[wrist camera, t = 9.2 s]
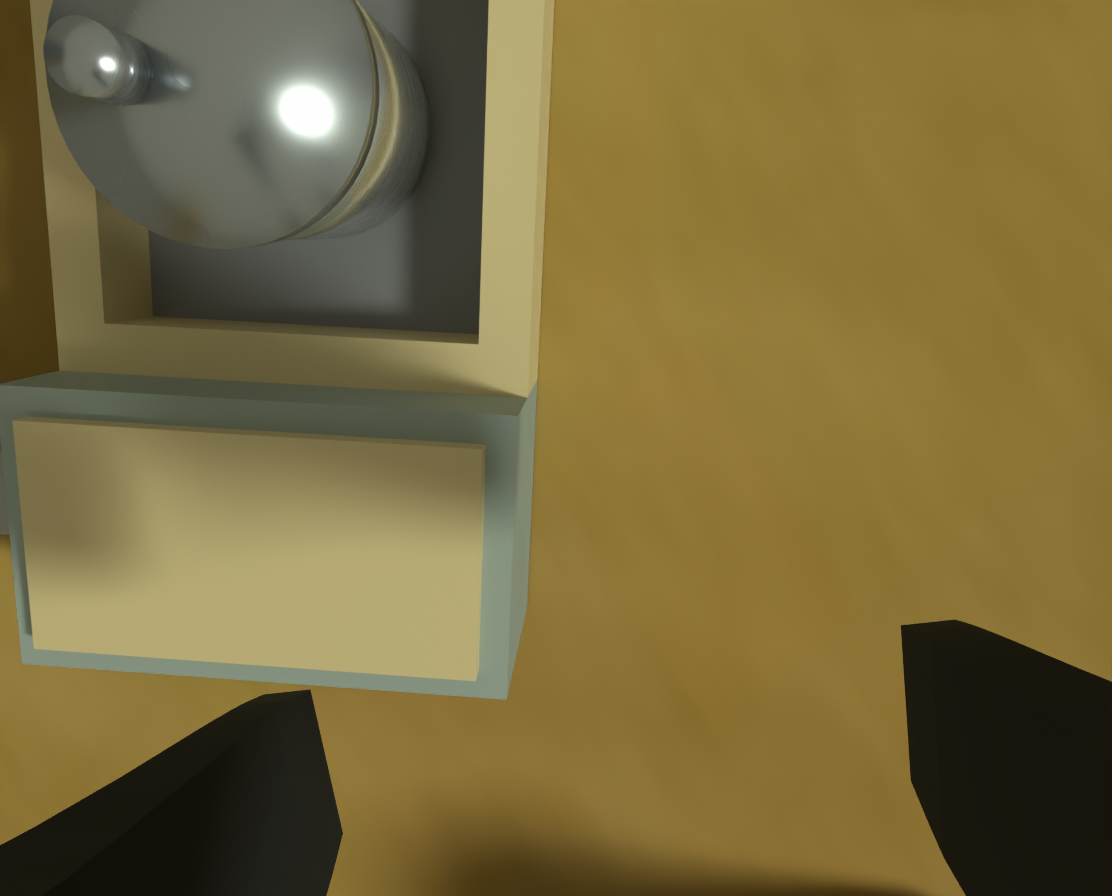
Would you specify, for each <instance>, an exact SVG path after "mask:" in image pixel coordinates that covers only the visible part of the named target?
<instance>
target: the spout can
mask: <svg viewBox="0 0 1112 896" xmlns="http://www.w3.org/2000/svg"><path fill="white" fill-rule="evenodd" d="M43 55H44V61H45V69H46V80H47V87H48V92H49V96H50V101H51V106H52V109H53V112H54V115H55V118H56V121H57V124H58V127H59V130H60V132H61V134H62V136H63V138H64V141H65V143H66V145H67V147H68V149H69V151H70V152H71V154H72V156H73V157H74V159H75V161H76V162H77V164H78V166H79V167H80V169H81V170H82V172H83V173H84V174H85V175H86V177H87V178H88V179H89V181H90V182H91V183H92V184H93V186H94V187H95V188H96V189H97V190H98V191H99V192H100V193H101V194H102V195H103V196H104V197H105V198H106V199H107V200H108V201H109V202H110V203H111V204H112V205H113V206H114V207H116V208H117V209H118V210H119V211H121V212H122V213H123V214H124V215H126V216H127V217H128V218H130V219H131V220H133V221H135V222H136V223H138V224H139V225H141V226H143V227H144V228H146V229H148V230H150V231H152V232H154V233H156V234H159V235H161V236H163V237H165V238H168V239H171V240H174V241H177V242H180V243H183V244H188V245H193V246H198V247H204V248H218V249H233V248H247V247H258V246H263V245H267V244H271V243H276V242H279V241H281V240H307V239H333V238H345V237H349V236H354V235H358V234H361V233H363V232H366V231H369V230H371V229H373V228H375V227H377V226H378V225H380V224H382V223H384V222H385V221H386V220H388V219H389V218H390V217H392V216H393V215H394V214H395V213H396V212H397V211H398V210H399V209H400V208H401V207H403V206H404V205H405V203H406V202H407V201H408V199H409V198H410V197H411V195H412V194H413V193H414V191H415V189H416V188H417V186H418V184H419V182H420V181H421V178H422V176H423V173H424V171H425V168H426V166H427V162H428V158H429V154H430V149H431V142H432V115H431V106H430V102H429V97H428V93H427V90H426V87H425V84H424V82H423V79H422V76H421V74H420V72H419V70H418V68H417V66H416V64H415V62H414V61H413V59H412V58H411V56H410V55H409V53H408V52H407V51H406V49H405V48H404V47H403V46H402V44H401V43H400V42H399V41H398V40H397V39H396V38H395V37H394V36H393V35H392V34H391V33H390V32H389V31H388V30H387V29H386V28H385V27H384V26H383V25H382V24H381V23H380V22H379V21H378V20H377V19H376V18H375V17H374V16H373V15H372V14H371V13H370V12H369V11H368V10H367V9H366V8H365V7H364V6H363V5H362V4H361V3H360V2H359V1H358V0H53V3H52V6H51V10H50V13H49V18H48V24H47V31H46V37H45V40H44V45H43Z"/></svg>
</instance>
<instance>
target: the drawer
mask: <svg viewBox="0 0 1112 896" xmlns="http://www.w3.org/2000/svg"><path fill="white" fill-rule="evenodd" d="M358 1H359V2H360V3H361V4H362V5H363V6H364V7H365V8H366V9H367V10H368V11H369V12H370V13H371V14H372V15H373V16H374V17H375V18H376V19H377V20H378V21H379V22H380V23H381V24H382V25H383V26H384V27H385V28H386V29H387V30H388V31H389V32H390V33H391V34H392V35H393V36H394V37H395V38H396V39H397V40H398V41H399V42H400V43H401V44H402V46H403V47H404V48H405V49H406V51H407V52H408V53H409V55H410V56H411V58H412V59H413V61H414V62H415V64H416V66H417V68H418V70H419V72H420V74H421V76H422V79H423V82H424V84H425V87H426V90H427V93H428V97H429V102H430V106H431V115H432V142H431V149H430V154H429V158H428V162H427V166H426V168H425V171H424V173H423V176H422V178H421V181H420V182H419V184H418V186H417V188H416V189H415V191H414V193H413V194H412V195H411V197H410V198H409V199H408V201H407V202H406V203H405V205H404V206H403V207H401V208H400V209H399V210H398V211H397V212H396V213H395V214H394V215H393V216H392V217H390V218H389V219H388V220H386V221H385V222H384V223H382V224H380V225H378V226H377V227H375V228H373V229H371V230H369V231H366V232H363V233H361V234H358V235H354V236H349V237H345V238H333V239H307V240H281V241H279V242H276V243H271V244H267V245H263V246H258V247H247V248H233V249H218V248H204V247H198V246H193V245H188V244H183V243H180V242H177V241H174V240H171V239H168V238H165V237H163V236H161V235H159V234H156V233H154V232H152V231H150V230H148V229H146V228H144V227H143V226H141V225H139V224H138V223H136V222H135V221H133V220H131V219H130V218H128V217H127V216H126V215H124V214H123V213H122V212H121V211H119V210H118V209H117V208H116V207H114V206H113V205H112V204H111V203H110V202H109V201H108V200H107V199H106V198H105V197H104V196H103V195H102V194H101V193H100V192H99V191H98V190H97V189H96V188H95V187H94V186H93V184H92V183H91V182H90V181H89V179H88V178H87V177H86V175H85V174H84V173H83V172H82V170H81V169H80V167H79V166H78V164H77V162H76V161H75V159H74V157H73V156H72V154H71V152H70V151H69V149H68V147H67V145H66V143H65V141H64V138H63V136H62V134H61V132H60V130H59V127H58V124H57V121H56V118H55V115H54V112H53V109H52V106H51V101H50V96H49V92H48V87H47V80H46V69H45V61H44V55H43V45H44V40H45V37H46V31H47V24H48V18H49V13H50V10H51V6H52V3H53V0H30V10H31V22H32V35H33V47H34V60H35V72H36V85H37V97H38V110H39V122H40V134H41V147H42V159H43V172H44V184H45V197H46V209H47V222H48V234H49V246H50V259H51V271H52V284H53V296H54V309H55V321H56V333H57V346H58V358H59V371H55V372H50V373H46V374H41V375H37V376H32V377H28V378H23V379H19V380H14V381H10V382H5V383H0V443H1V450H0V535H10V545H11V555H12V565H13V576H14V586H15V596H16V606H17V617H18V627H19V637H20V647H21V657H22V664H33V665H46V666H60V667H73V668H87V669H100V670H114V671H127V672H141V673H154V674H168V675H181V676H195V677H208V678H222V679H235V680H249V681H262V682H276V683H289V684H303V685H316V686H330V687H343V688H357V689H370V690H384V691H397V692H411V693H424V694H438V695H451V696H465V697H478V698H491V699H505V700H507V695H508V691H509V686H510V682H511V677H512V673H513V668H514V664H515V659H516V655H517V650H518V646H519V641H520V637H521V632H522V628H523V623H524V619H525V614H526V610H527V598H528V576H529V553H530V531H531V509H532V487H533V465H534V443H535V420H536V398H537V376H538V354H539V332H540V309H541V287H542V265H543V243H544V221H545V198H546V176H547V154H548V132H549V110H550V87H551V65H552V43H553V21H554V0H358Z"/></svg>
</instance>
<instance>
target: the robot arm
mask: <svg viewBox="0 0 1112 896" xmlns="http://www.w3.org/2000/svg"><path fill="white" fill-rule="evenodd" d="M901 635H902V650H903V666H904V681H905V696H906V712H907V727H908V743H909V758H910V773H911V782H912V784H913V787H914V789H915V791H916V794H917V796H918V799H919V801H920V804H921V806H922V808H923V811H924V813H925V816H926V818H927V820H928V823H929V825H930V827H931V830H932V832H933V834H934V836H935V839H936V841H937V843H938V845H939V848H940V850H941V852H942V854H943V857H944V859H945V860H946V862H947V864H948V866H949V867H950V869H951V871H952V873H953V874H954V876H955V878H956V880H957V881H958V883H959V885H960V886H961V888H962V890H963V891H964V893H965V895H966V896H1112V682H1111V681H1108V680H1106V679H1104V678H1101V677H1099V676H1096V675H1094V674H1091V673H1089V672H1086V671H1084V670H1081V669H1079V668H1077V667H1074V666H1072V665H1069V664H1067V663H1064V662H1062V661H1060V660H1057V659H1055V658H1053V657H1050V656H1048V655H1045V654H1043V653H1041V652H1038V651H1036V650H1034V649H1031V648H1029V647H1026V646H1024V645H1022V644H1019V643H1017V642H1015V641H1012V640H1010V639H1007V638H1005V637H1003V636H1000V635H998V634H995V633H993V632H990V631H987V630H985V629H982V628H980V627H977V626H974V625H971V624H968V623H965V622H961V621H958V620H947V621H938V622H929V623H920V624H910V625H901ZM342 835H343V832H342V828H341V823H340V819H339V814H338V810H337V806H336V801H335V797H334V792H333V788H332V783H331V779H330V775H329V770H328V766H327V761H326V757H325V753H324V748H323V744H322V739H321V735H320V730H319V726H318V722H317V717H316V713H315V708H314V704H313V699H312V695H311V691H310V690H302V691H293V692H283V693H274V694H265V695H262V696H259V697H257V698H255V699H252V700H250V701H248V702H246V703H244V704H242V705H240V706H238V707H236V708H234V709H233V710H231V711H229V712H227V713H225V714H224V715H222V716H220V717H218V718H217V719H215V720H213V721H212V722H210V723H208V724H207V725H205V726H203V727H202V728H200V729H198V730H197V731H195V732H194V733H192V734H190V735H189V736H187V737H185V738H184V739H182V740H180V741H179V742H177V743H176V744H174V745H172V746H171V747H169V748H167V749H166V750H164V751H163V752H161V753H159V754H158V755H156V756H155V757H153V758H151V759H150V760H148V761H146V762H145V763H143V764H142V765H140V766H138V767H137V768H135V769H133V770H132V771H130V772H129V773H127V774H125V775H124V776H122V777H120V778H119V779H117V780H115V781H113V782H112V783H110V784H108V785H107V786H105V787H103V788H101V789H100V790H98V791H96V792H94V793H93V794H91V795H89V796H88V797H86V798H84V799H82V800H81V801H79V802H77V803H75V804H74V805H72V806H70V807H69V808H67V809H65V810H63V811H62V812H60V813H58V814H56V815H55V816H53V817H51V818H50V819H48V820H46V821H44V822H43V823H41V824H39V825H37V826H36V827H34V828H32V829H30V830H28V831H26V832H24V833H23V834H21V835H19V836H17V837H15V838H13V839H11V840H9V841H8V842H6V843H4V844H2V845H0V896H326V894H327V891H328V888H329V884H330V881H331V877H332V874H333V870H334V866H335V862H336V858H337V854H338V850H339V846H340V842H341V838H342Z"/></svg>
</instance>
